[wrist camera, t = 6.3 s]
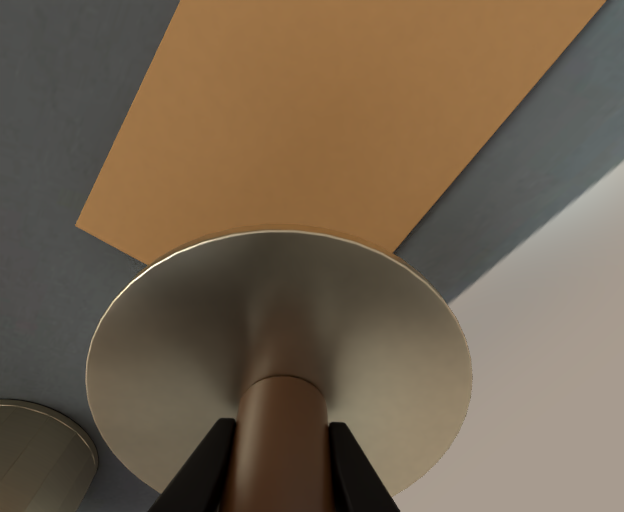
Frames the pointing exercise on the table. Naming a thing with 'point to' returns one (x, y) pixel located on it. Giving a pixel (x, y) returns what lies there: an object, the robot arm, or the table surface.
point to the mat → (317, 114)
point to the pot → (42, 459)
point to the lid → (279, 364)
